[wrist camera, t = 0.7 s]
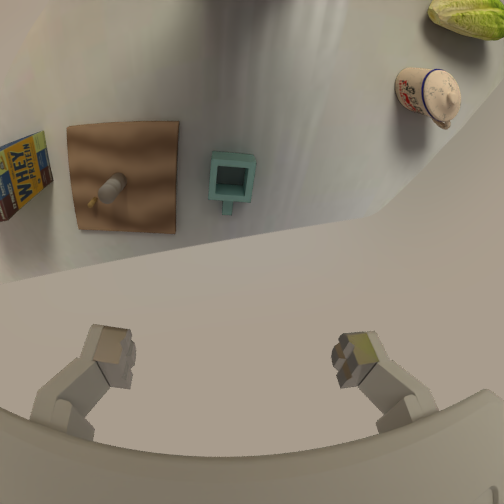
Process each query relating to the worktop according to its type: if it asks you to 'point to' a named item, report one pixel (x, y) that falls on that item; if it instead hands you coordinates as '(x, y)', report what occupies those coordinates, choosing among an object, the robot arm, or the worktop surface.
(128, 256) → the worktop surface
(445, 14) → the lettuce
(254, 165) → the teal open cubby box
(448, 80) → the teacup with lid
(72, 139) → the post board
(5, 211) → the protein box
